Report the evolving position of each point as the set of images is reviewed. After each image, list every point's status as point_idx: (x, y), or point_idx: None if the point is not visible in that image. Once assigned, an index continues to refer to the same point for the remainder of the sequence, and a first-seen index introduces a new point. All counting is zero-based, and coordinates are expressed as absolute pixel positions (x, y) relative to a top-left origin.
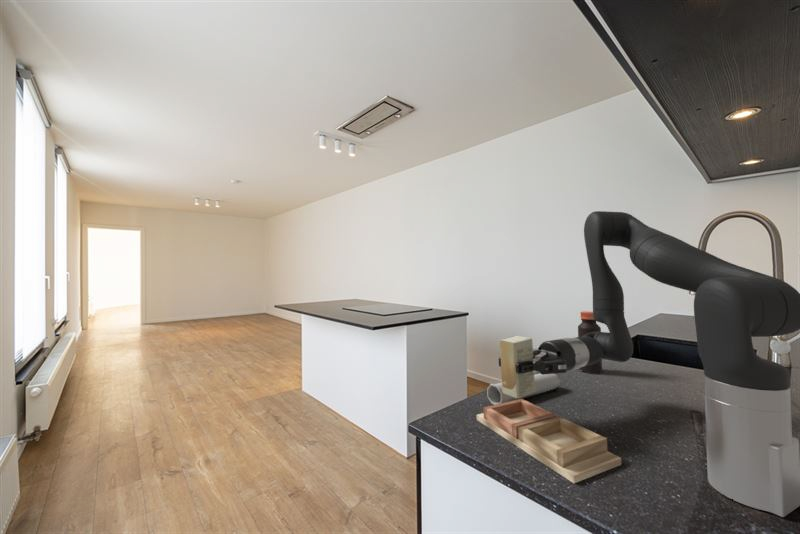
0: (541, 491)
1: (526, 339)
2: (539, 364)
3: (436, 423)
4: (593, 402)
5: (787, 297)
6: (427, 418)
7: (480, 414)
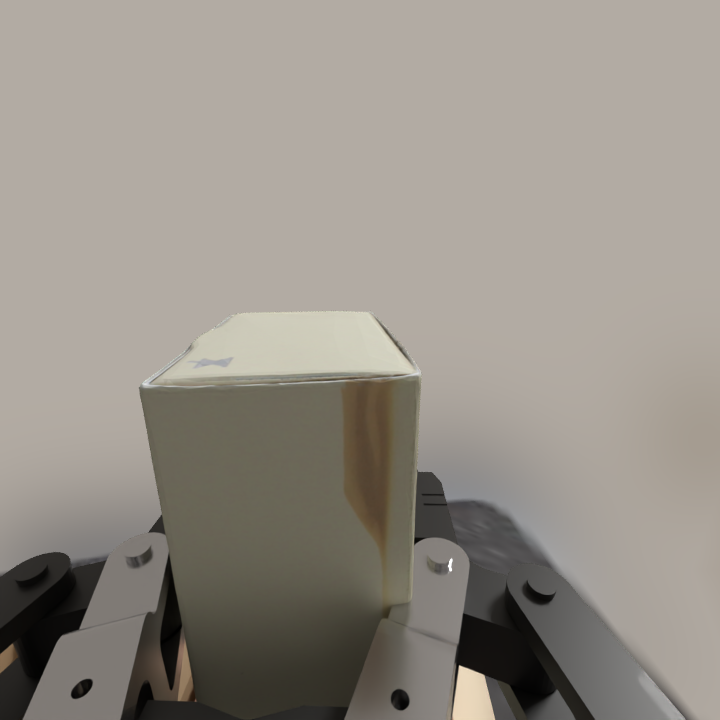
0: (92, 560)
1: (190, 352)
2: (77, 576)
3: (480, 536)
4: None
5: None
6: (521, 531)
7: (476, 672)
